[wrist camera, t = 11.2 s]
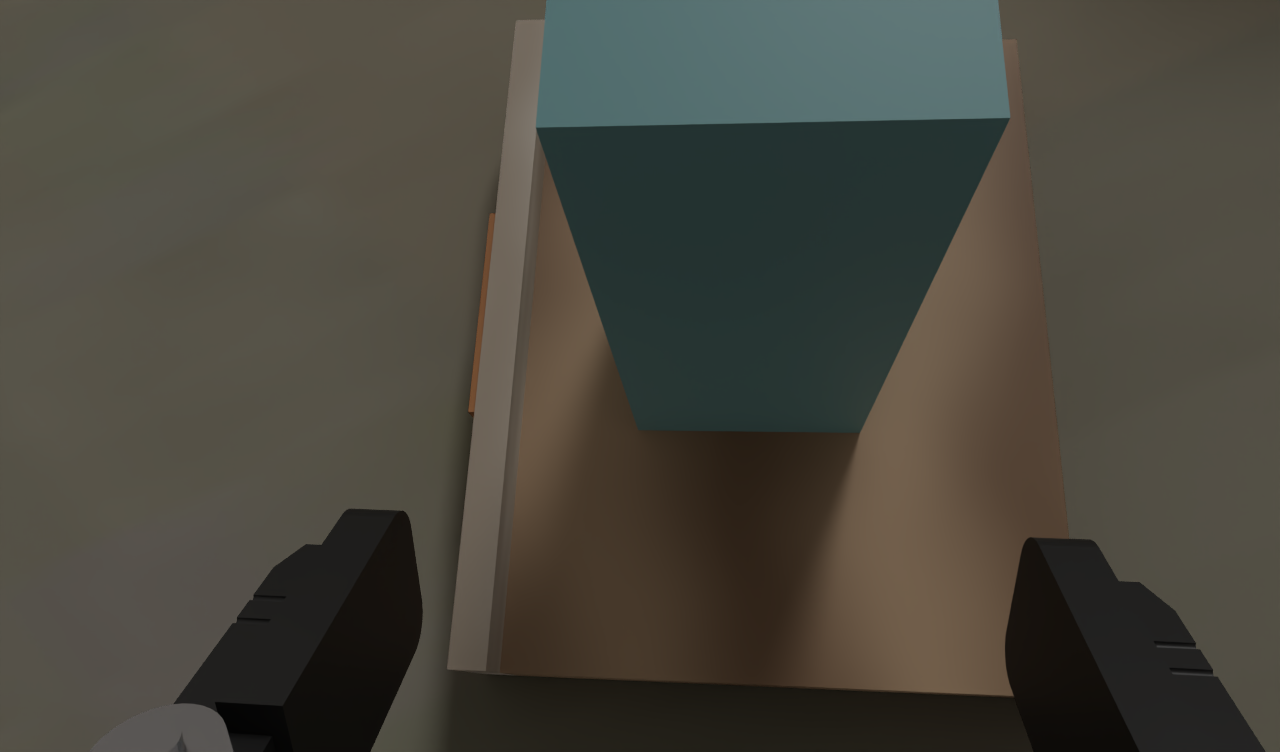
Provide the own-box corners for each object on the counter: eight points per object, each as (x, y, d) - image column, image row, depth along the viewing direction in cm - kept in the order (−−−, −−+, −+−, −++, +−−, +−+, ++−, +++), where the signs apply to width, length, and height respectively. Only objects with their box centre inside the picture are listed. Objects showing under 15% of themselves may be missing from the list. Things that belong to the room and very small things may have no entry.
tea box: (852, 233, 23) (973, -236, 11) (860, 432, 21) (1010, 118, 10) (643, 235, 23) (560, -211, 12) (635, 430, 21) (530, 128, 10)
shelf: (995, 87, 26) (1030, 6, 23) (1053, 699, 21) (1108, 698, 18) (533, 96, 27) (508, 20, 24) (477, 674, 22) (437, 668, 19)
